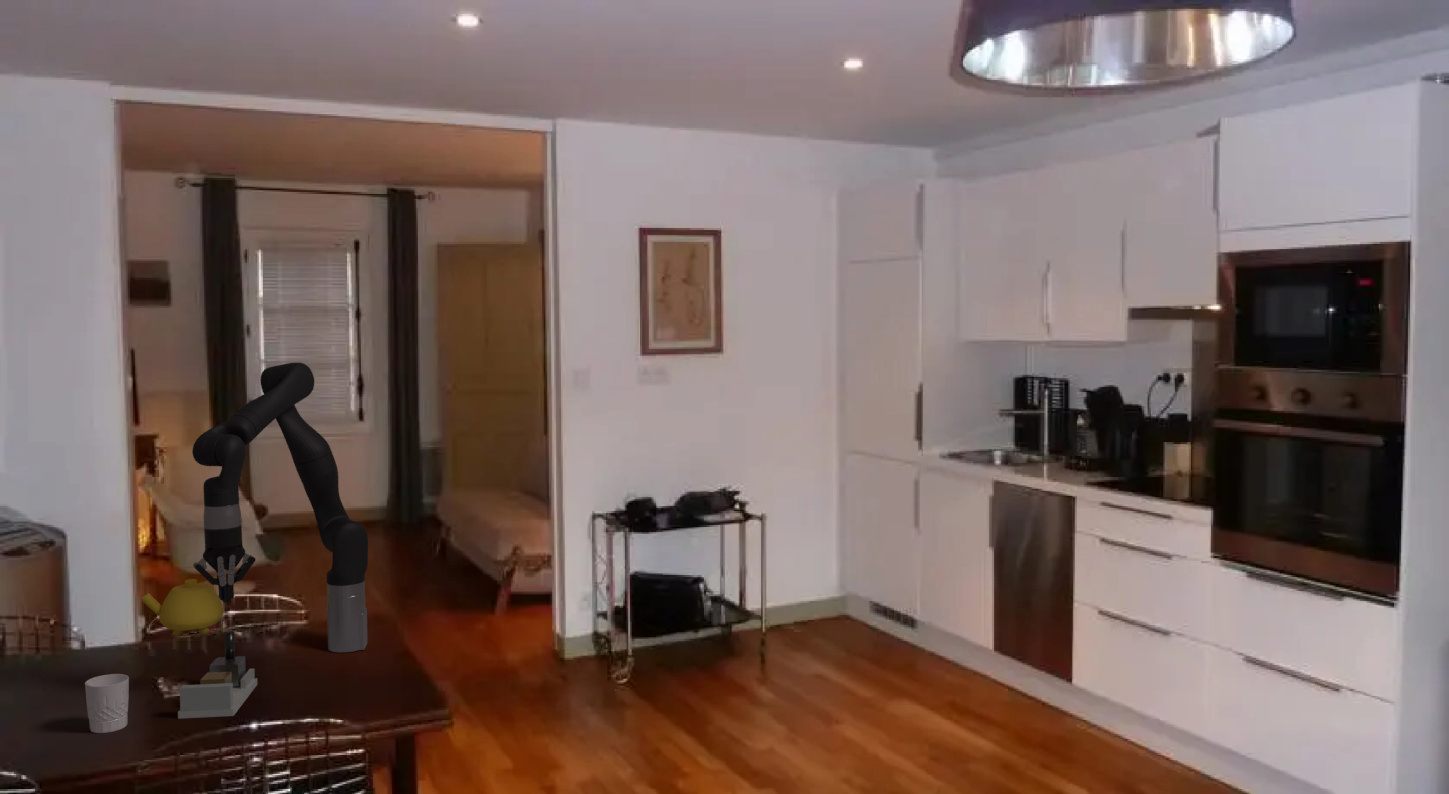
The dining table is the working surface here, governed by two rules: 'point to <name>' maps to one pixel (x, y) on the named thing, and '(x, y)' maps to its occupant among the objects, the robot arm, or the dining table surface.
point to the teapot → (188, 607)
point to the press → (215, 698)
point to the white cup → (107, 702)
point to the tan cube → (217, 678)
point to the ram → (230, 661)
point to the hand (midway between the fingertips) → (226, 601)
